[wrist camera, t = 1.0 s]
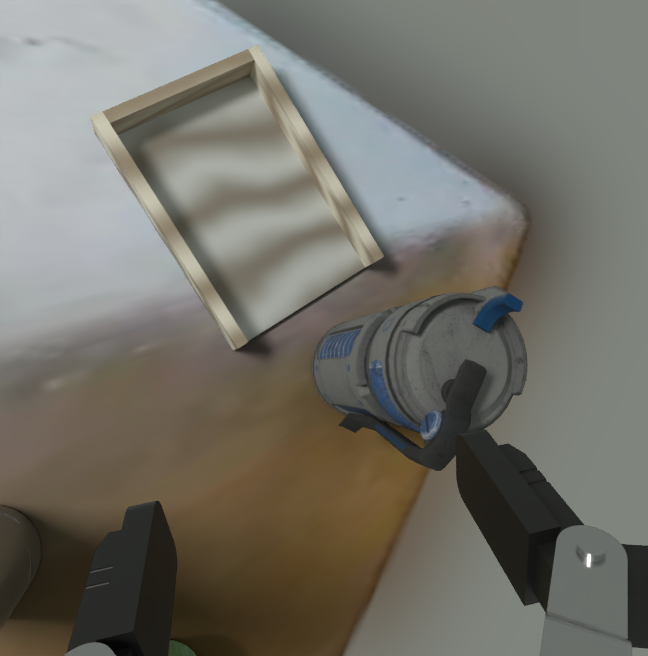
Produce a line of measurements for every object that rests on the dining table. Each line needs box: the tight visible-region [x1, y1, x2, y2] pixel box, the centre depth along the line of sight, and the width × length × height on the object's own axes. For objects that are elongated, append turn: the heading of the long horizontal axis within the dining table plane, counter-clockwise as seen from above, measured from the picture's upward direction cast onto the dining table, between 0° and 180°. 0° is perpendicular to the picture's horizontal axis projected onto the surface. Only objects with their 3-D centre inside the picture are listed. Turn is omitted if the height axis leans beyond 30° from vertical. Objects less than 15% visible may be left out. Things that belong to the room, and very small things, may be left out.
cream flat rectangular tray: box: [91, 45, 384, 350], centre depth 53 cm, size 25×18×4 cm
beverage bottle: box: [312, 286, 527, 471], centre depth 45 cm, size 10×13×25 cm
